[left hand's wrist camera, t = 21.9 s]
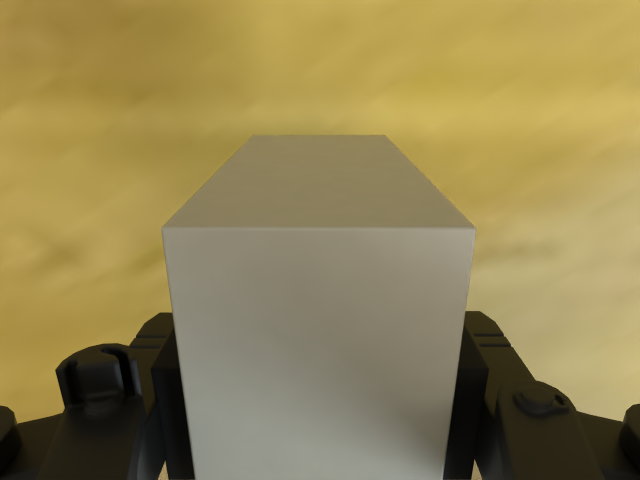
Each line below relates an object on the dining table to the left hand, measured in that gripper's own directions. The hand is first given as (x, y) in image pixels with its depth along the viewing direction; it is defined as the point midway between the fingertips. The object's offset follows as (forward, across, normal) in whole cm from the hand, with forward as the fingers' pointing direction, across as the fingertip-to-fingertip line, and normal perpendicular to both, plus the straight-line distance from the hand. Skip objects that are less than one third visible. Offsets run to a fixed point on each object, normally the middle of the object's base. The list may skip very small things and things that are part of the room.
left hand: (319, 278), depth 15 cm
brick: (+3, 0, 0) cm, 3 cm away
